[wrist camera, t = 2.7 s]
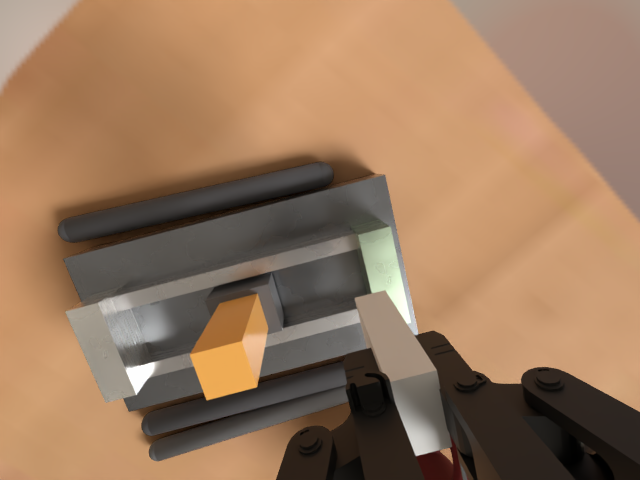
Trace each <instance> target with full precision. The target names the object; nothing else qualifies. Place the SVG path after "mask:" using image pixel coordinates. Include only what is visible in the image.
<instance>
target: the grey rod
mask: <svg viewBox="0 0 640 480" xmlns="http://www.w3.org/2000/svg"><path fill="white" fill-rule="evenodd" d="M346 384H347V381H346V375H345V370H344V365H343V361H341V362H338V363H334V364H330V365H326V366H322V367H318V368H315V369H311V370H307V371H303V372H299V373H296V374H292V375H288V376H284V377H280V378H277V379H273V380H269V381H265V382H261V383H258V385H257V387H256V388H252V389H248V390H245V391H241V392H237V393H233V394H229V395H226V396H222V397H218V398H214V399H210V400H206V397H204V398H201V399H197V400H193V401H189V402H185V403H182V404H178V405H174V406H170V407H166V408H163V409H159V410H155V411H152V412H149V413H148V414H147V415H146V416H145V417H144V418H143V420H142V424H141V427H142V430H143V432H144V433H145V434H146V435H149V436H153V435H157V434H161V433H165V432H169V431H173V430H176V429H180V428H184V427H188V426H192V425H195V424H199V423H203V422H207V421H211V420H214V419H218V418H222V417H226V416H230V415H233V414H237V413H241V412H245V411H249V410H252V409H256V408H260V407H264V406H268V405H271V404H275V403H279V402H283V401H287V400H290V399H294V398H298V397H302V396H306V395H309V394H313V393H317V392H321V391H325V390H328V389H332V388H336V387H340V386H344V385H346Z"/></svg>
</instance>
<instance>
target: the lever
mask: <svg viewBox="0 0 640 480" xmlns="http://www.w3.org/2000/svg"><path fill="white" fill-rule="evenodd" d="M205 302H206V305H207V308H208V311H209V314H210V317H211V319H210V321H209V322H208V324H207V326H206V328H205V329H204V331H203V333H202V334H201V336H200V338H199V340H198V341H197V343H196V345H195V346H194V348H193V350H192V352H191V353H190V357H191V360H192V362H193V365H194V368H195V370H196V373H197V376H198V379H199V381H200V384H201V387H202V389H203V392H204V395H205V397H206V400H210V399H214V398H218V397H222V396H226V395H229V394H233V393H237V392H241V391H245V390H248V389H252V388H256V387H257V385H258V380H259V375H260V370H261V365H262V359H263V354H264V349H265V344H266V338H267V335H268V334H272V333H276V332H280V331H283V321H284V313H283V309H282V306H281V303H280V299H279V296H278V293H277V289H276V286H275V283H274V279H273V276H272V273H267V274H264V275H260V276H256V277H252V278H248V279H245V280H241V281H237V282H233V283H229V284H225V285H222V286H218V287H214V289H213V290H212V291H211V293H210V294H209V296H208V297H207V298H206V300H205Z"/></svg>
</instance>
